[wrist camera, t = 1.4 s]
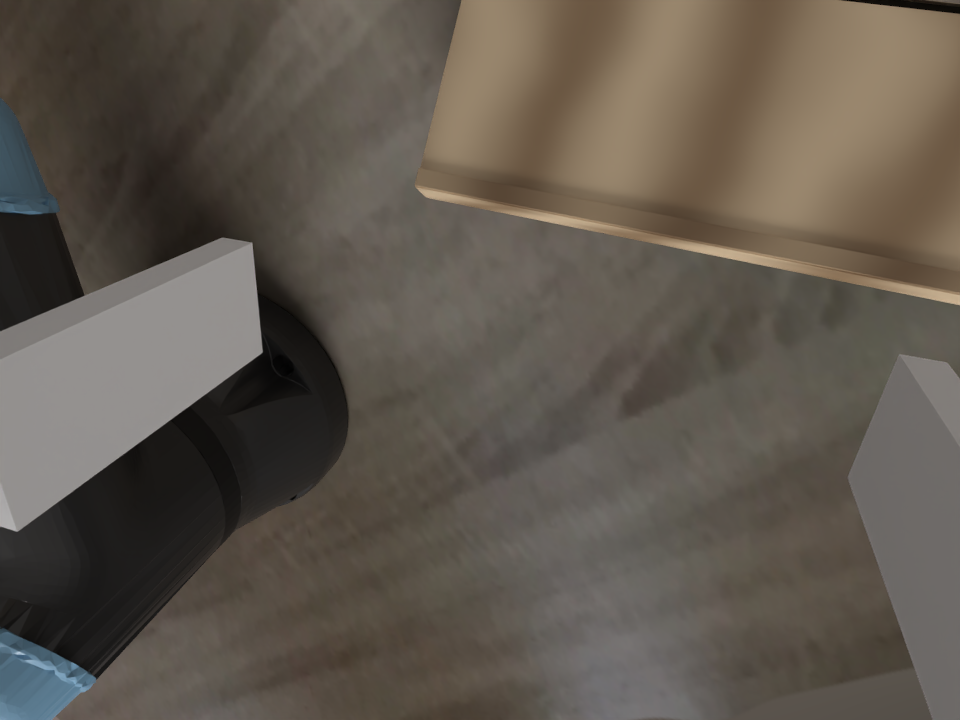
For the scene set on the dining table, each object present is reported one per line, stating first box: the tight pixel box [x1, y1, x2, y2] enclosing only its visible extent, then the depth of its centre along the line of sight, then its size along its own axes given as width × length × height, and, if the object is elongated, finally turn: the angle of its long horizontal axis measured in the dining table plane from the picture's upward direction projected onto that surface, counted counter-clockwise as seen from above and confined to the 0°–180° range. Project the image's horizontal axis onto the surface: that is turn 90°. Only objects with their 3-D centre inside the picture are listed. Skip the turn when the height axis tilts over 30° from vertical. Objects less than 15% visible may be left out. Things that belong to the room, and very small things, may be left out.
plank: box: [415, 0, 960, 305], centre depth 25 cm, size 21×10×2 cm
